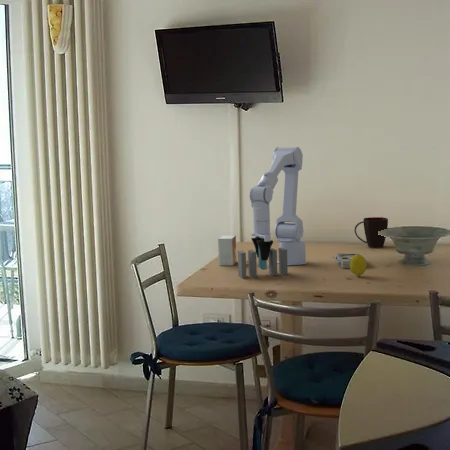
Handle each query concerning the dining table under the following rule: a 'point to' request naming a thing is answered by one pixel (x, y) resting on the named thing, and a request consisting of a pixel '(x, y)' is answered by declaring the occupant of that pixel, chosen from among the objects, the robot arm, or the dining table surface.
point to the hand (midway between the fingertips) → (262, 258)
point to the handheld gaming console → (345, 259)
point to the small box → (227, 250)
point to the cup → (374, 231)
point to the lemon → (358, 265)
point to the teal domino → (261, 261)
